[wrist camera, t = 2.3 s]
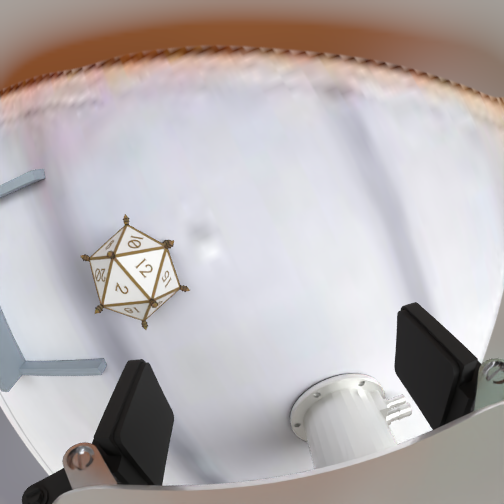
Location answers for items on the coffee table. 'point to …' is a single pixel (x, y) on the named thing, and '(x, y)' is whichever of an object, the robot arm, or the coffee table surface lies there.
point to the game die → (133, 273)
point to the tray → (4, 345)
